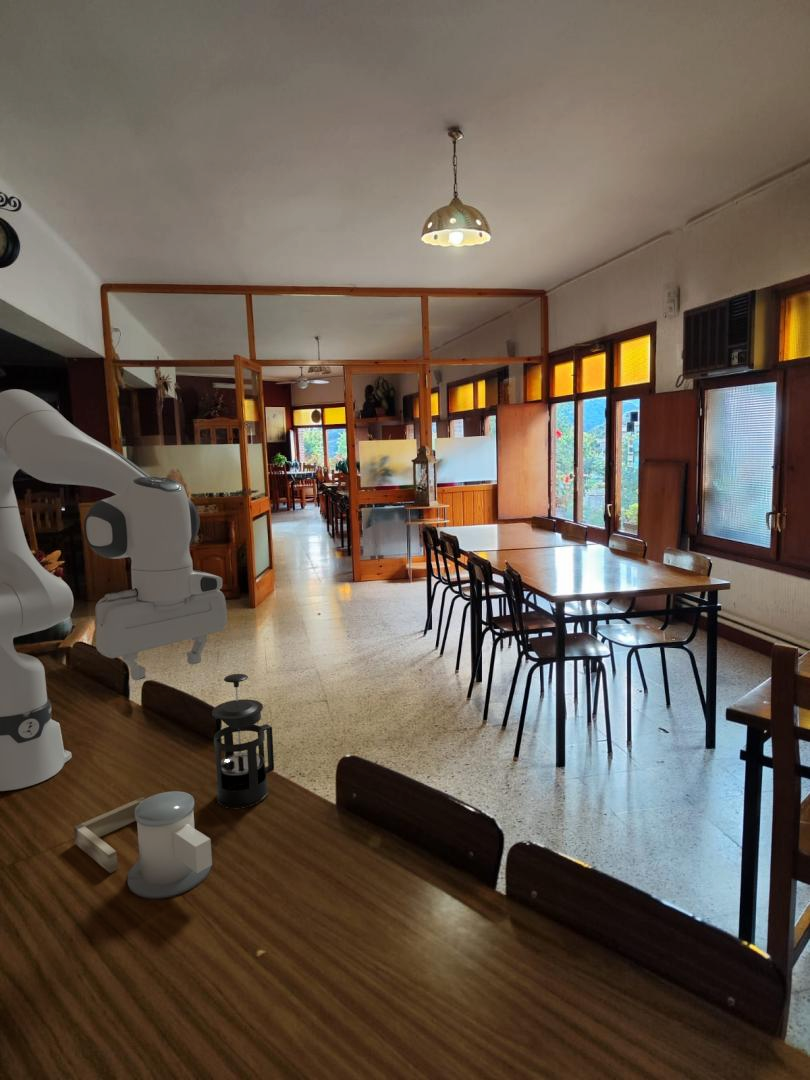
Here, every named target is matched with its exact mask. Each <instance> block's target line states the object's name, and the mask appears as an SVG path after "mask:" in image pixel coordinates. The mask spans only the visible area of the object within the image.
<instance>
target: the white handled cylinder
mask: <svg viewBox="0 0 810 1080" xmlns="http://www.w3.org/2000/svg"><path fill="white" fill-rule="evenodd" d="M194 809H195V798H194V797H193V795H191V794H189V793H188V792H184V791H175V790H174V791H165V792H160V793H156V794H153V795H151V796H150V797H147V798H145V800H143V801H142V802H141V803H139V804H138V805H137V807H136V809H135V819H136V821H135V822H136V826H137V827H136V828H137V838H138V839H137V841H138V851H139V852H138V853H139V854H138V855H139V860H140V866H141V876H142V878H143V880H144V881H146V882H148V883H151V884H168V883H172V882H176V881H178V880H180V879H182V878H184V877H186V876H187V875H189V874H190V873H191V872H192V871H195V872H196V873H199V872H200V871H202V870H204V869H206V868H208V867H209V866H211V865H212V866H213V857H212V856H213V855H212V843H211V842H212V840H211V838H210V837H209V836H207V835H205V834H204V833H202V832H201V831H199V830H197V829H196V828H195V816H194ZM212 866H211V867H212Z"/></svg>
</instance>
